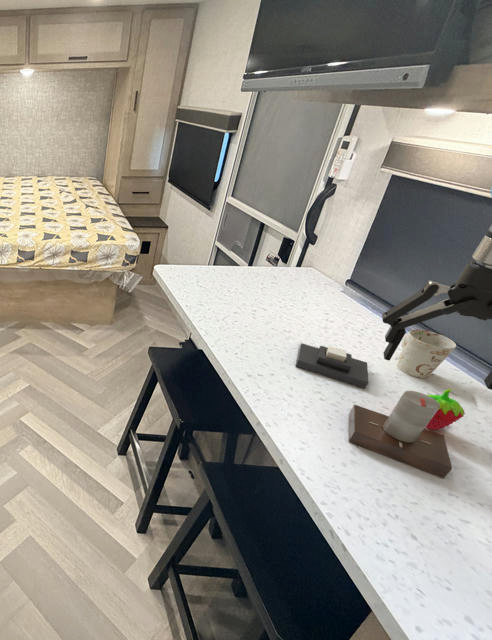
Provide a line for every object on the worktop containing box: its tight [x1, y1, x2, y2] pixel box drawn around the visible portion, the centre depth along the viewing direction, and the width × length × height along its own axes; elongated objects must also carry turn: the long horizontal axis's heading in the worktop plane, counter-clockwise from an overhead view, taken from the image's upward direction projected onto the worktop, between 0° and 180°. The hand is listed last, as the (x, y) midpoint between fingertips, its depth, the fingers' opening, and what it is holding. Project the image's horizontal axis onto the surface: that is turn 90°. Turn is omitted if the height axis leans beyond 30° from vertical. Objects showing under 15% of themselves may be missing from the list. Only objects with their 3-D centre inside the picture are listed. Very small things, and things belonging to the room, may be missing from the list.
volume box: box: [348, 404, 453, 479], centre depth 81 cm, size 14×10×3 cm
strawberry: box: [425, 388, 466, 431], centre depth 83 cm, size 6×7×10 cm
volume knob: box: [383, 390, 440, 443], centre depth 78 cm, size 5×5×9 cm
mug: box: [396, 329, 457, 379], centre depth 102 cm, size 8×13×10 cm, turn 163°
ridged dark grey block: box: [294, 342, 369, 390], centre depth 103 cm, size 14×10×4 cm
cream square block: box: [326, 345, 347, 362], centre depth 101 cm, size 4×4×2 cm
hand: (434, 370), depth 74 cm, fingers open, 13 cm apart
